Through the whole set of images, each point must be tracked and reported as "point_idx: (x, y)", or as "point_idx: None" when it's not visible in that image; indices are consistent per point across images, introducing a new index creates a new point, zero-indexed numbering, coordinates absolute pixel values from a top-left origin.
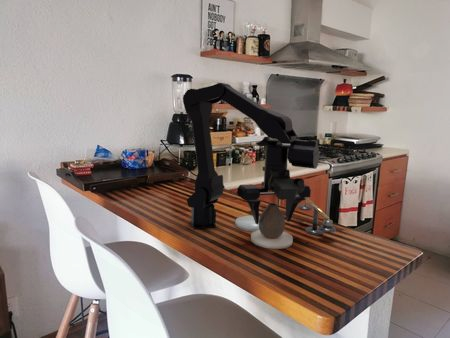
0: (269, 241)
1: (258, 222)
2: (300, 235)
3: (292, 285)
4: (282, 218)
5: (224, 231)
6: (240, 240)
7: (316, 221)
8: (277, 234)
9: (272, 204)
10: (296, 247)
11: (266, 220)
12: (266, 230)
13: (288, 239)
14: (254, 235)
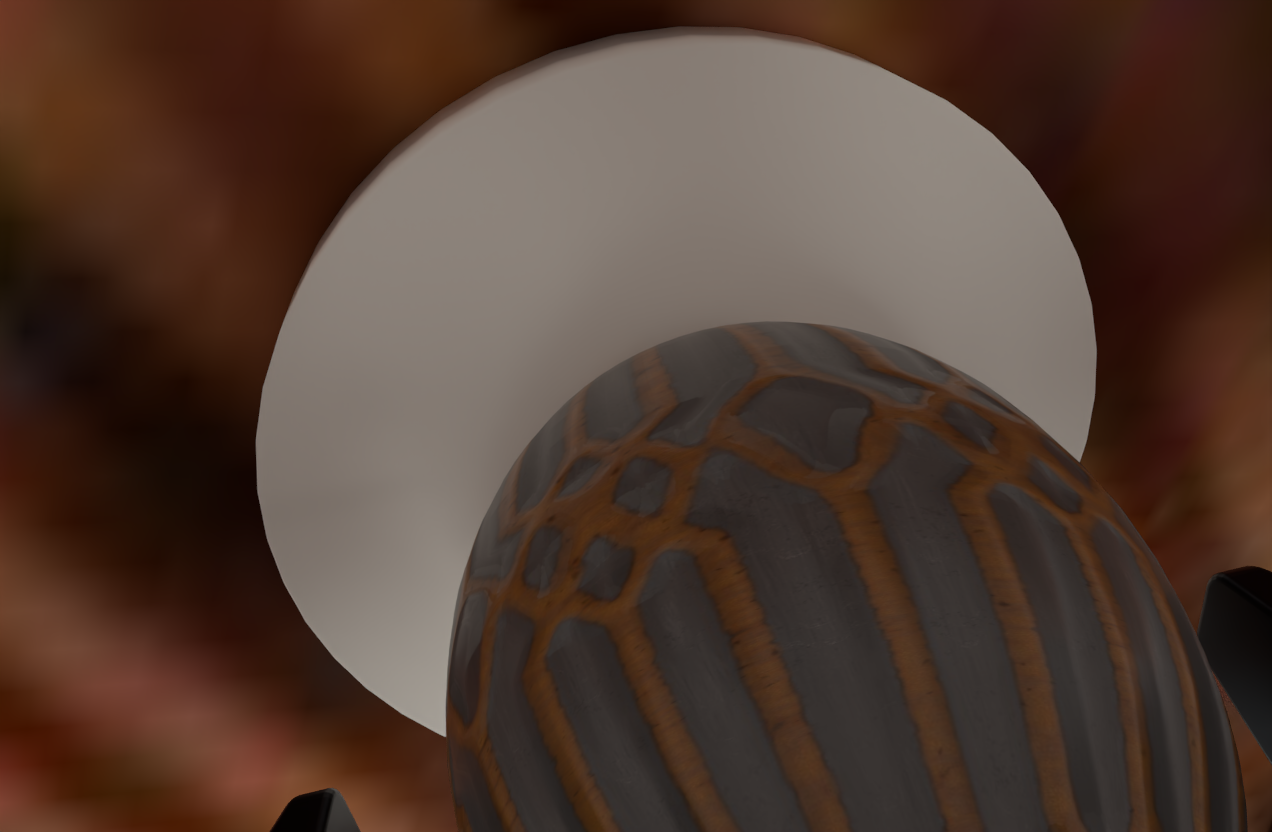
0: (847, 225)
1: (1255, 596)
2: (50, 681)
3: None
4: (622, 717)
5: (1235, 714)
6: (1191, 433)
7: None
8: (694, 336)
9: None
10: (228, 98)
11: (1170, 591)
12: (1001, 397)
13: (380, 337)
14: None
